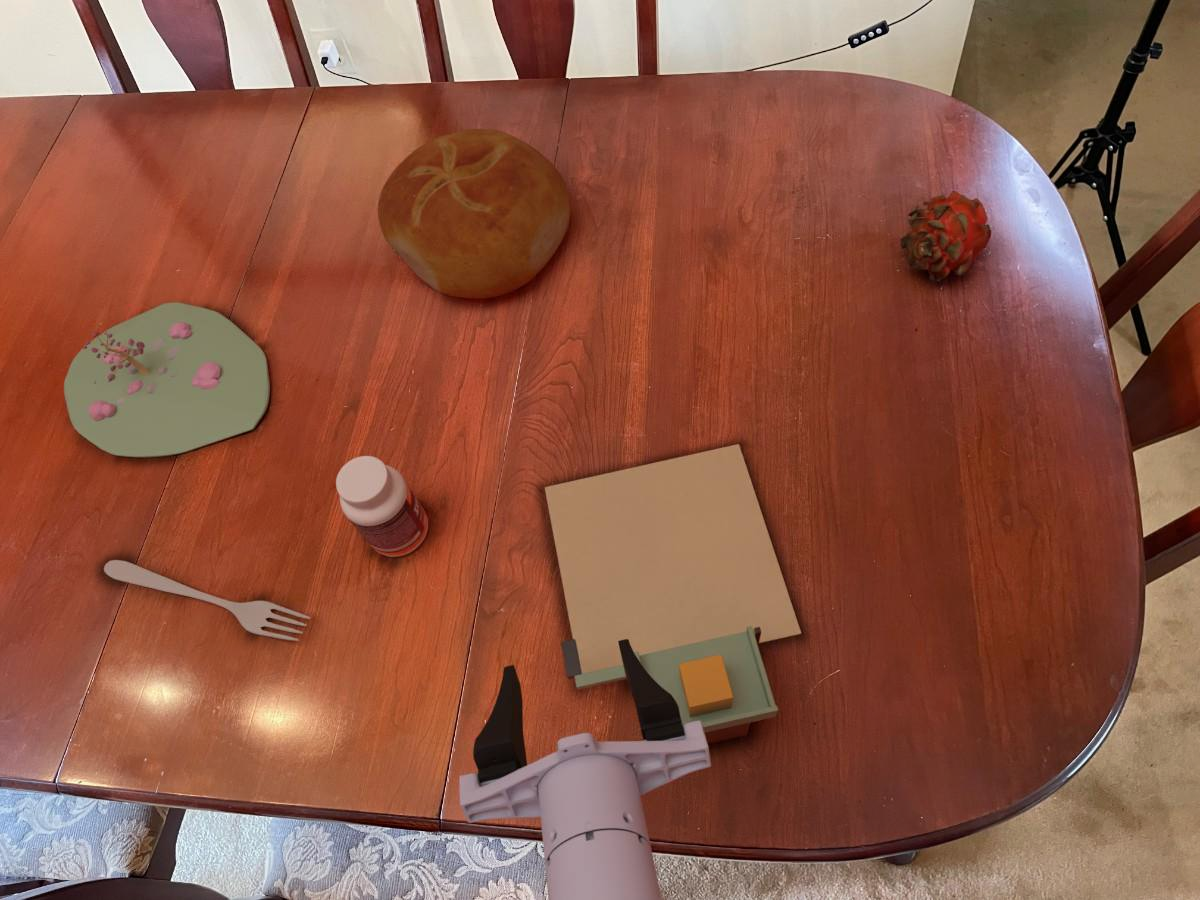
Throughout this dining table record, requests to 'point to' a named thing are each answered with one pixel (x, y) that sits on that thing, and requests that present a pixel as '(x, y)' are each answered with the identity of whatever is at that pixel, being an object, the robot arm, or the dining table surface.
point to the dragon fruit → (946, 235)
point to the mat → (666, 557)
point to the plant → (167, 383)
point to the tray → (664, 668)
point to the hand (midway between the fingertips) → (568, 662)
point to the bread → (475, 212)
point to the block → (705, 685)
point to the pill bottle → (381, 506)
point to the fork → (209, 599)
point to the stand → (734, 730)
